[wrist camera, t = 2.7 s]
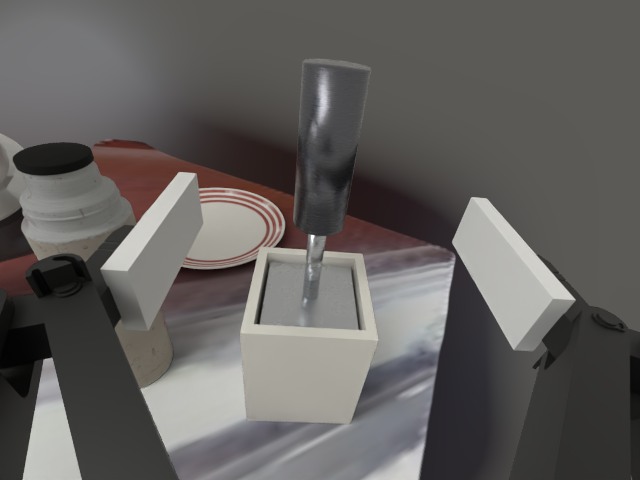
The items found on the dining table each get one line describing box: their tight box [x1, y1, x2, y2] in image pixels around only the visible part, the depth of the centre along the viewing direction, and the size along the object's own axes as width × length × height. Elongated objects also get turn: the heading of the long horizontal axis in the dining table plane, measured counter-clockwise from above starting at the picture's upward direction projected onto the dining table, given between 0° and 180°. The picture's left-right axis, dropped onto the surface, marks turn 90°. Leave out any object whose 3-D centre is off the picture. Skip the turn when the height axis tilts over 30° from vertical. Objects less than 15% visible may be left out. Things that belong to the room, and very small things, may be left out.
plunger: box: [260, 59, 371, 330], centre depth 27 cm, size 9×9×22 cm
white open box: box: [240, 247, 379, 424], centre depth 37 cm, size 12×12×16 cm
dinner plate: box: [142, 188, 285, 269], centre depth 64 cm, size 28×27×3 cm
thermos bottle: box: [13, 142, 173, 388], centre depth 33 cm, size 8×8×28 cm
